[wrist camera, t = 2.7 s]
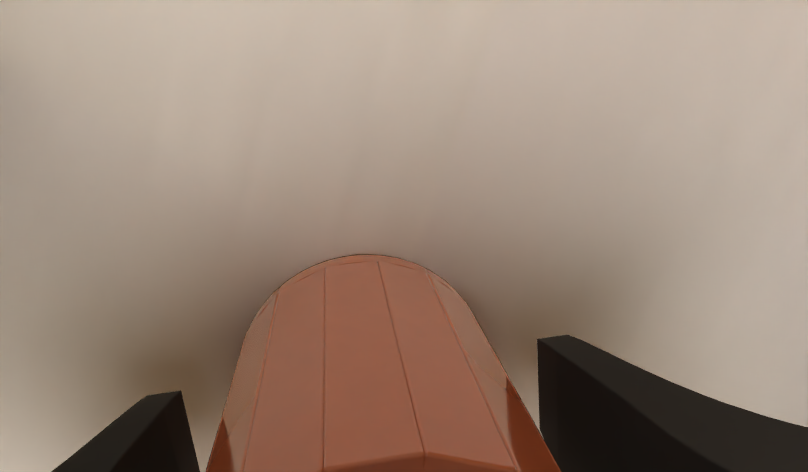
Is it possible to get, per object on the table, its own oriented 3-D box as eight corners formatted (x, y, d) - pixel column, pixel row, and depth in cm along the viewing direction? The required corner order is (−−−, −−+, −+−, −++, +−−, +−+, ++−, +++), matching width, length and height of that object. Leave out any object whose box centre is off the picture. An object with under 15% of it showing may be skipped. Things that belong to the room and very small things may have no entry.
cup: (475, 238, 12) (623, 421, 6) (488, 450, 14) (617, 766, 8) (219, 271, 12) (104, 503, 6) (262, 487, 13) (208, 852, 7)
